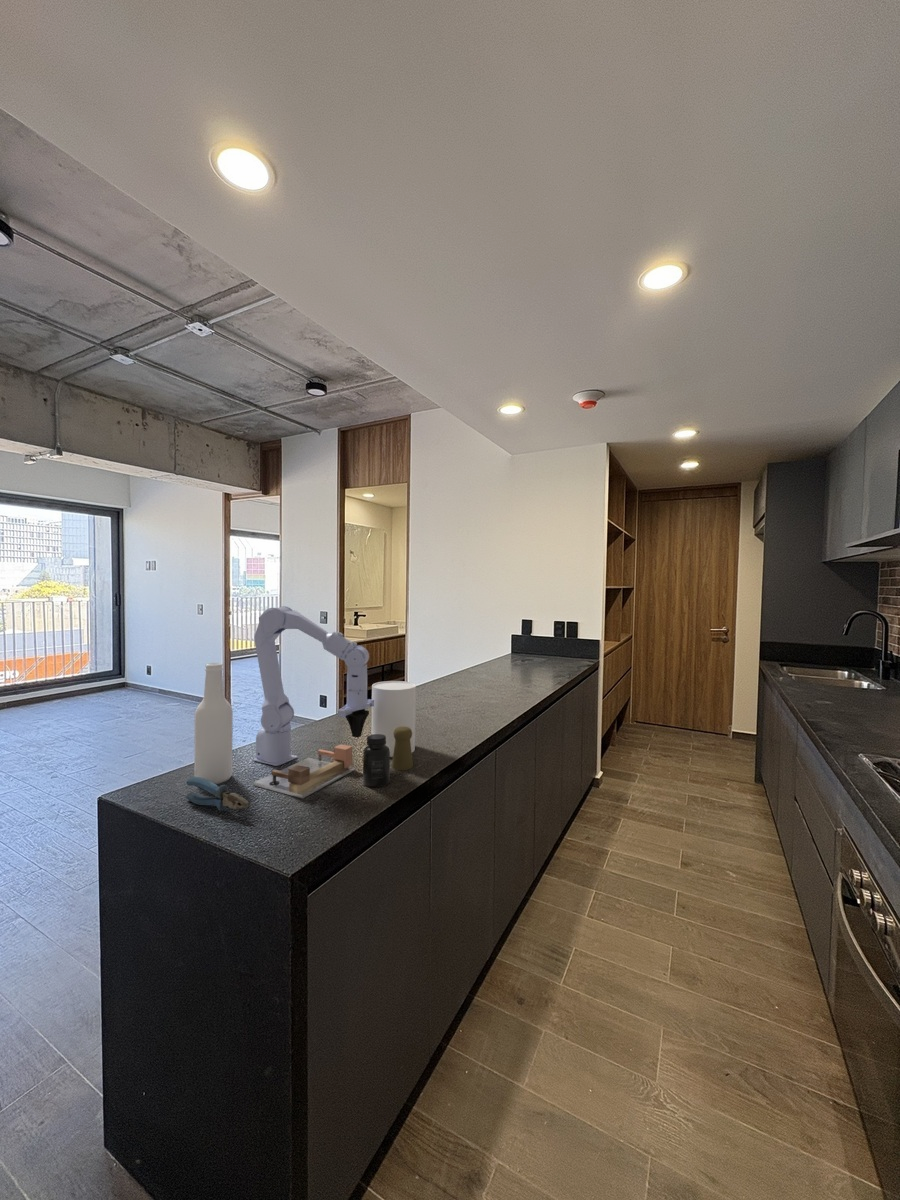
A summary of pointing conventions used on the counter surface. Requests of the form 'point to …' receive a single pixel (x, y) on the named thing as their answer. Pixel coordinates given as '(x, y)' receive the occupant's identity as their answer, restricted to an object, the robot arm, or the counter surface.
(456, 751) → the counter surface
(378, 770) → the supplement bottle
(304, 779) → the bar
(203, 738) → the alcohol
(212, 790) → the pliers
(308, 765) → the flange plate
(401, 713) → the canister
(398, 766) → the cork
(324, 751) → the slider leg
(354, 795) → the counter surface
